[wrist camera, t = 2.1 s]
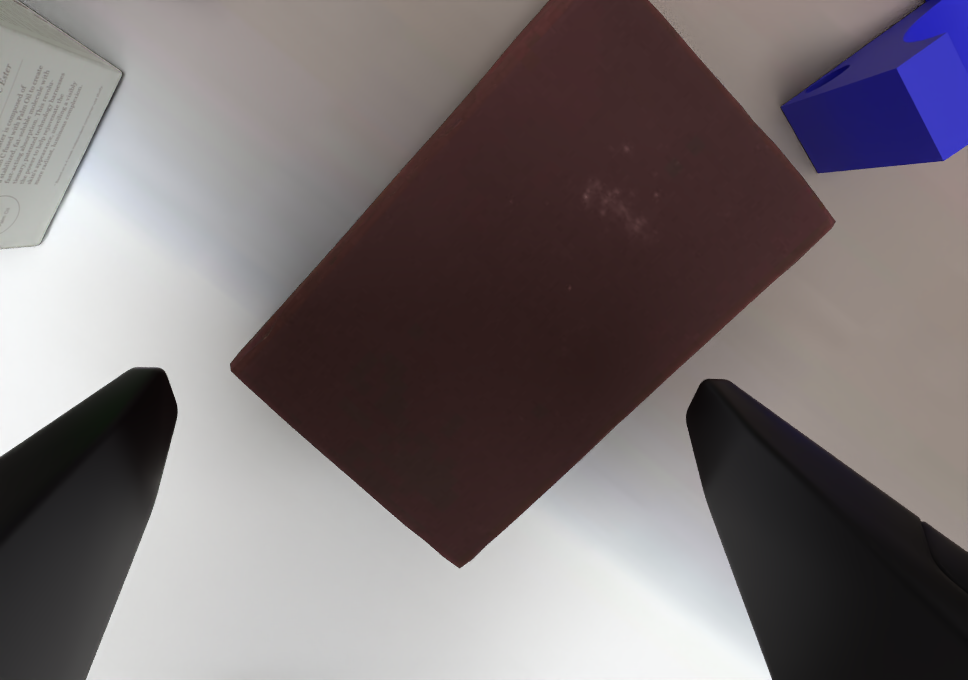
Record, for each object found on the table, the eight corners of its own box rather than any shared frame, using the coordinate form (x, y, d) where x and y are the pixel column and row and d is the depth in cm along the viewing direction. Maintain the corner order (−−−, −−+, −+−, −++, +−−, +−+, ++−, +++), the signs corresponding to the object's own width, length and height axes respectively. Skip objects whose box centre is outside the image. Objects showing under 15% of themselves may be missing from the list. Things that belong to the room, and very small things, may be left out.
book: (252, 347, 23) (215, 370, 20) (584, -25, 20) (602, -70, 16) (467, 529, 25) (464, 576, 22) (800, 221, 22) (854, 225, 19)
